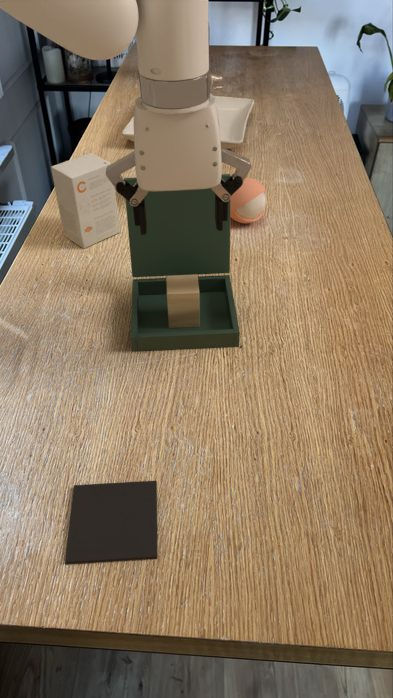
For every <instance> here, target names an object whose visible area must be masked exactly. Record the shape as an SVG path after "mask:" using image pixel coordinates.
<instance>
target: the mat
mask: <svg viewBox="0 0 393 698" xmlns="http://www.w3.org/2000/svg"><path fill="white" fill-rule="evenodd" d="M157 483H158V482H157V480H142V481H125V482H107V483H89V484H74V485H73V489H72V498H71V506H70V514H69V523H68V532H67V540H66V547H65V548H66V549H65V550H66V551H65V559H64V564H65V565H69V564H70V565H71V564H89V563H103V562H119V561H120V562H121V561H134V560H135V561H136V560H153V559H158V488H157V487H158V486H157V485H158V484H157Z"/></svg>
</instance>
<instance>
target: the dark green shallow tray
mask: <svg viewBox="0 0 393 698" xmlns="http://www.w3.org/2000/svg"><path fill="white" fill-rule="evenodd" d="M198 284H199V302H200V327H183V328H169V323H168V305H167V283H166V277H151V278H150V277H149V278H134V279H132V287H131V289H132V290H131V313H130V315H131V316H130V337H129V338H130V344H131V346H130V347H131V352H132V353H138V352H157V351H159V352H160V351H161V352H162V351H181V350H198V349H199V350H202V349H222V348H239V347H240V341H241V340H240V338H241V333H240V332H241V331H240V324H239V320H238V314H237V308H236V303H235V298H234V292H233V287H232V281H231V275H230V274H220V275H219V274H218V275H200V276H199V275H198Z"/></svg>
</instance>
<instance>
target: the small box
mask: <svg viewBox="0 0 393 698" xmlns="http://www.w3.org/2000/svg"><path fill="white" fill-rule="evenodd" d="M112 163H113V162H109V161H108V160H106V159H105V158H102V157H101V156H98V155H96V154H94V153H92V152H88V153H85V154H82V155H80V156H77V157H74V158H71V159H69V160H65V161H63V162H60V163H57V164H55V165H52V166H50V170H51V175H52V180H53V185H54V186H53V187H54V190H55V196H56V202H57V207H58V210H59V217H60V222H61V228H62V232H63V236H64V237H65V238H67V239H68V240H69V241H70V242H71V241H72V242H73V243H74V244H76V245H77V246H79V247H81V248H82V249H86V248H89V247H91V246H93V245H95V244H97V243H100V242H101V241H104V240H106V239H108V238H111V237H113V236H115V235H117V234H120V233H121V230H120V229H121V228H120V219H119V213H118V204H117V195H116V188H115V187H114V186H113V185H112V183H111V182H110V180H109V179H108V177H107V176H106V168H107V166H109V165H110V164H112Z"/></svg>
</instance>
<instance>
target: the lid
mask: <svg viewBox="0 0 393 698" xmlns="http://www.w3.org/2000/svg"><path fill="white" fill-rule="evenodd" d="M231 176H232V175H231V174H230V173H222V174H221V178H222V179H223V180H224V181H225V182H226V181H227V180H228V179H229V178H230V177H231ZM123 179H124V180H126V181H127V182H128V183H129V184H131V185H132V186H134V184H135V183H136V182H137V177H136V176H135V177H123ZM144 199H145V209H146V220H147V234H145V235H141V229H140V226H135V222H134V212H133V206H132V205H131V204H130V202H129V201H128V200H127V199H125V211H126V219H127V220H126V221H127V230H128V232H127V233H128V245H129V254H130V256H129V257H130V265H131V266H130V267H131V276H132V278H150V277H151V278H155V277H166V276H173V275H196V274H197V275H198V276H199V275H219V274H220V275H223V274H230V273H231V217H230V200H229V201H228V220H227V221H223V231H218V230H217V228H216V222H215V193H214V191H213V190H212V189H211V188H208V189H197V190H178V191H149V192H148V194H147V195H146V196H145V197H144Z"/></svg>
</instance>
